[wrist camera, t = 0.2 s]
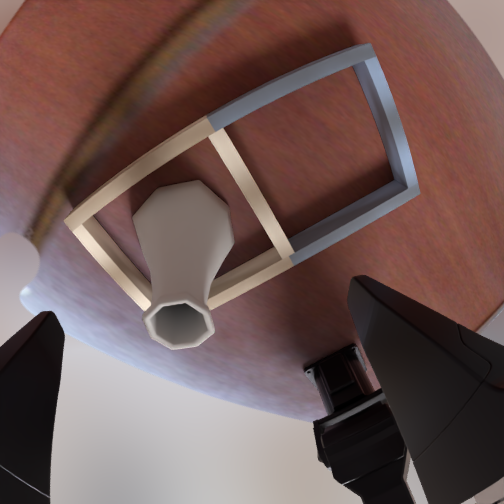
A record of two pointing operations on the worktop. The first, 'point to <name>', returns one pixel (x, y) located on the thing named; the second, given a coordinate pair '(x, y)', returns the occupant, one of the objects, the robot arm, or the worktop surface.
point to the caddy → (285, 249)
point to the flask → (182, 259)
